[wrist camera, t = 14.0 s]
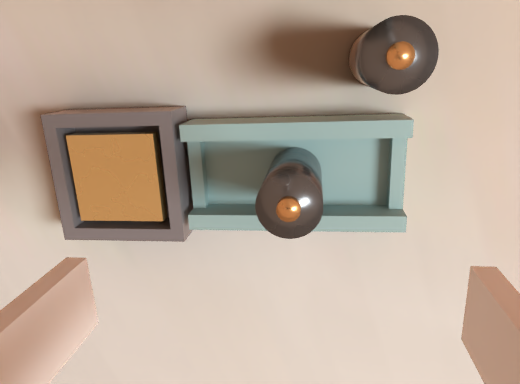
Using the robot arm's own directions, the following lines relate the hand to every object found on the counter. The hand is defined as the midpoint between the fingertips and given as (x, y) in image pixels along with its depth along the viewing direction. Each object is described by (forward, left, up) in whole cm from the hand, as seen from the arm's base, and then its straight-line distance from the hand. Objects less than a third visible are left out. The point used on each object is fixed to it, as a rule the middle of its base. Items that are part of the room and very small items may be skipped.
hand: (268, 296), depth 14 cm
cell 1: (0, 0, -18) cm, 18 cm away
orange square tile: (0, -13, -17) cm, 22 cm away
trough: (0, 0, -19) cm, 19 cm away
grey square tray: (0, -13, -19) cm, 24 cm away
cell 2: (-8, +6, -19) cm, 22 cm away
